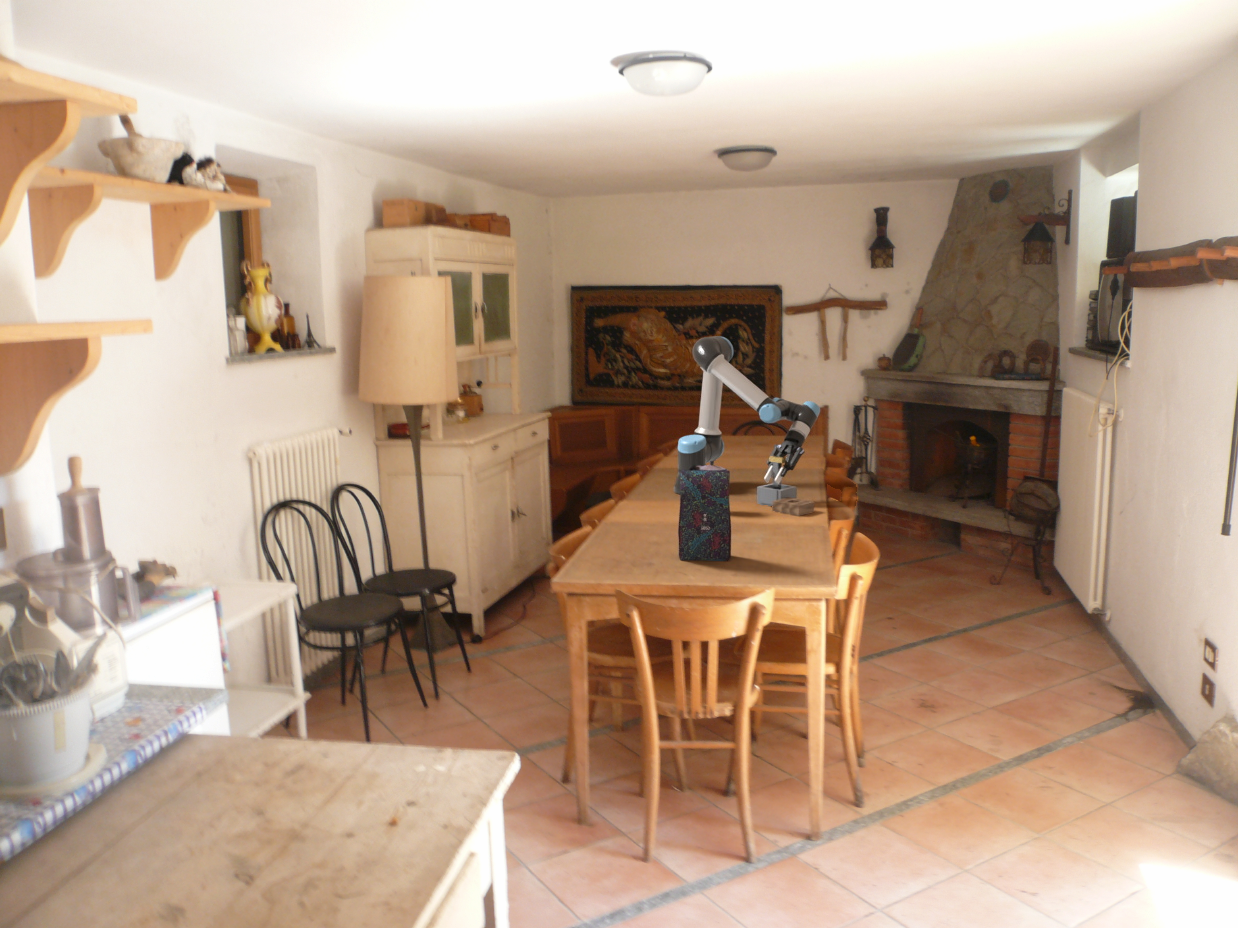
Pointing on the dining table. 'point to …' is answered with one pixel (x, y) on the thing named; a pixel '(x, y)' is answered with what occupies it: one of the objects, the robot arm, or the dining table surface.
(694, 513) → the decorative box
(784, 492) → the grey square box
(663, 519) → the dining table surface
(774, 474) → the t key
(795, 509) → the block
